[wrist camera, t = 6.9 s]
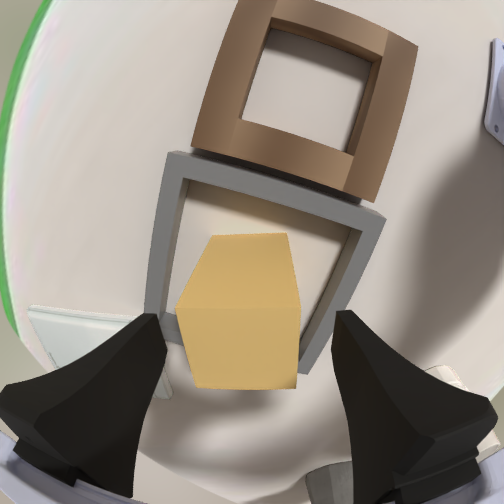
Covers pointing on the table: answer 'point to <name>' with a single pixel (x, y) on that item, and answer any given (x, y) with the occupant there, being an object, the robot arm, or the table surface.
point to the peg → (242, 314)
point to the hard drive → (80, 336)
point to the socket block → (292, 146)
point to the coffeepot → (331, 484)
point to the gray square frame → (272, 189)
